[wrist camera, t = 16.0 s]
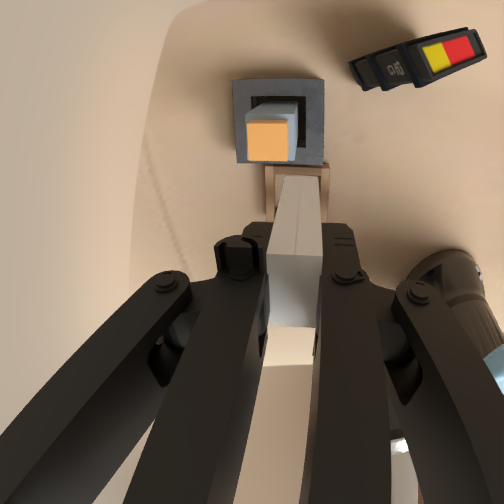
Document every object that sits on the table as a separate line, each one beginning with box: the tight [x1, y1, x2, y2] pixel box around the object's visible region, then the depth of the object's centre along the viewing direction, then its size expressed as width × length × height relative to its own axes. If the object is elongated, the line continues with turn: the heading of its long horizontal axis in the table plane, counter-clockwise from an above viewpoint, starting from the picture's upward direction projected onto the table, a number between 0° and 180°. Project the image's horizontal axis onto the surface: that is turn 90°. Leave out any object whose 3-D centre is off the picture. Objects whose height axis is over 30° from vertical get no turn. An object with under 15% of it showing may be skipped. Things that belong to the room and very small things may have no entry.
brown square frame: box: [265, 163, 330, 223], centre depth 38 cm, size 8×8×2 cm
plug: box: [245, 102, 298, 161], centre depth 28 cm, size 4×4×15 cm
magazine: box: [348, 27, 487, 91], centre depth 22 cm, size 4×13×15 cm, turn 120°
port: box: [232, 78, 324, 165], centre depth 32 cm, size 10×10×4 cm
